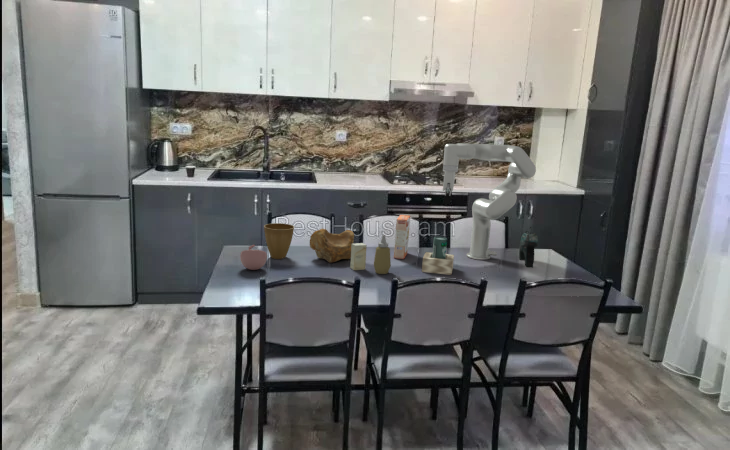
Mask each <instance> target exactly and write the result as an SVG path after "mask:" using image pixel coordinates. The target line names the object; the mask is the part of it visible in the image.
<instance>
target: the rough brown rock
mask: <svg viewBox="0 0 730 450" xmlns="http://www.w3.org/2000/svg"><path fill="white" fill-rule="evenodd" d="M354 239H355V232H353V231H352V230H348V229H347V230H344V231H342V232H341V233H331V232H329V231H328V230H327V229H326V228H320V229H318V230H315V231H313V233H312V234H311V235H310V238H309V247H310V249H312V250H313V251H314V252H315V255H316V257H317V258H318V259H323V260H326V262H328V263H329V264H332V263H335V262H338V261H340V260H351V245H352V244H355V243H354V242H355V240H354Z"/></svg>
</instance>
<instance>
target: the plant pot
mask: <svg viewBox="0 0 730 450" xmlns="http://www.w3.org/2000/svg"><path fill="white" fill-rule="evenodd" d="M263 228H264V229H263V230H264V236H265V238H264V239H265V242H266V243H265V244H266V246H267V250H268V253H269V256H270V258H271V259H276V260H282V259H283V260H284V259H286V258H287V256H288V255H287V254H288V251H289V250H290V247H291V243H292V239H293V235H294V231H295V226H294V225H293V224H289V223H282V222H281V223H279V222H278V223H275V222H273V223H267V224H264V225H263Z"/></svg>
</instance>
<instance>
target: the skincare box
mask: <svg viewBox="0 0 730 450" xmlns="http://www.w3.org/2000/svg"><path fill="white" fill-rule="evenodd" d="M366 261H367V244H366V243H364V242H360V243H359V242H358V243H357V242H356V243H354V244H352V245H351V258H350V266H349V267H350V269H351V270H353V271H361V270H366Z"/></svg>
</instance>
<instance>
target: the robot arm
mask: <svg viewBox="0 0 730 450" xmlns="http://www.w3.org/2000/svg"><path fill="white" fill-rule="evenodd" d="M443 151H444V152H443V164H442V165H443V166H442V172H444V175H443V182H442V184H443V185H442V191H443V192H444V196H443V198H444V199H443V204H447V205H450V204H451V201H452V199H453V191H454V186H455V181H456V180H455V179H456V173H458V171H459V162H460V160H459V159H462V160H471V159H474V160H475V159H476V160H480V161H489V162H508V163H510V164H509V165H508V168H507V170H508V171H507V177H506V178H505V179H504V180H503V182H502V183H500V184H498V185H497V186H495V187H494V188H493V189H492V190H491V191H490V192H489V195H488V199H487V198H483V197H481V198H477V199H475V200H474V202H473V204H472V206H471V211H472V212H471V213H472V224H471V225H472V227H471V235H470V245H469V246H470V247H469V248H470V249H469V252H467V253H466V257H467V258H470V259H473V260H480V261H481V260H482V261H483V260H484V261H485V260H490V259H491V256H495V257H496V256H497V254H498V253H497V251H494V250H492V251H491V250H490V248H489V246H490V244H489V243H490V235H491V221H494V220H497V219H499V218H500V217H502V216H503V215H504V214H505V213H507V212H508V211H510V210H511V209H512V208H513V207H514V206H515V204H516V203H517V200H518V199H517V197H518V196H517V192H518V190H519V189H520V186H521V182H522V178H524V179H531V178H533V177H534V176H535V175H536V173H537V172H536V171H537V169H536V165H535V163H534V162H533V161H532V159H531V158H530V157H529V155H528V154H527V152H526V151H525V150H524V149H523V148H522V147H521V146H515V145H508V144H491V143H464V142H463V143H461V142H458V143H446V144H445V145H444V149H443Z"/></svg>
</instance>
